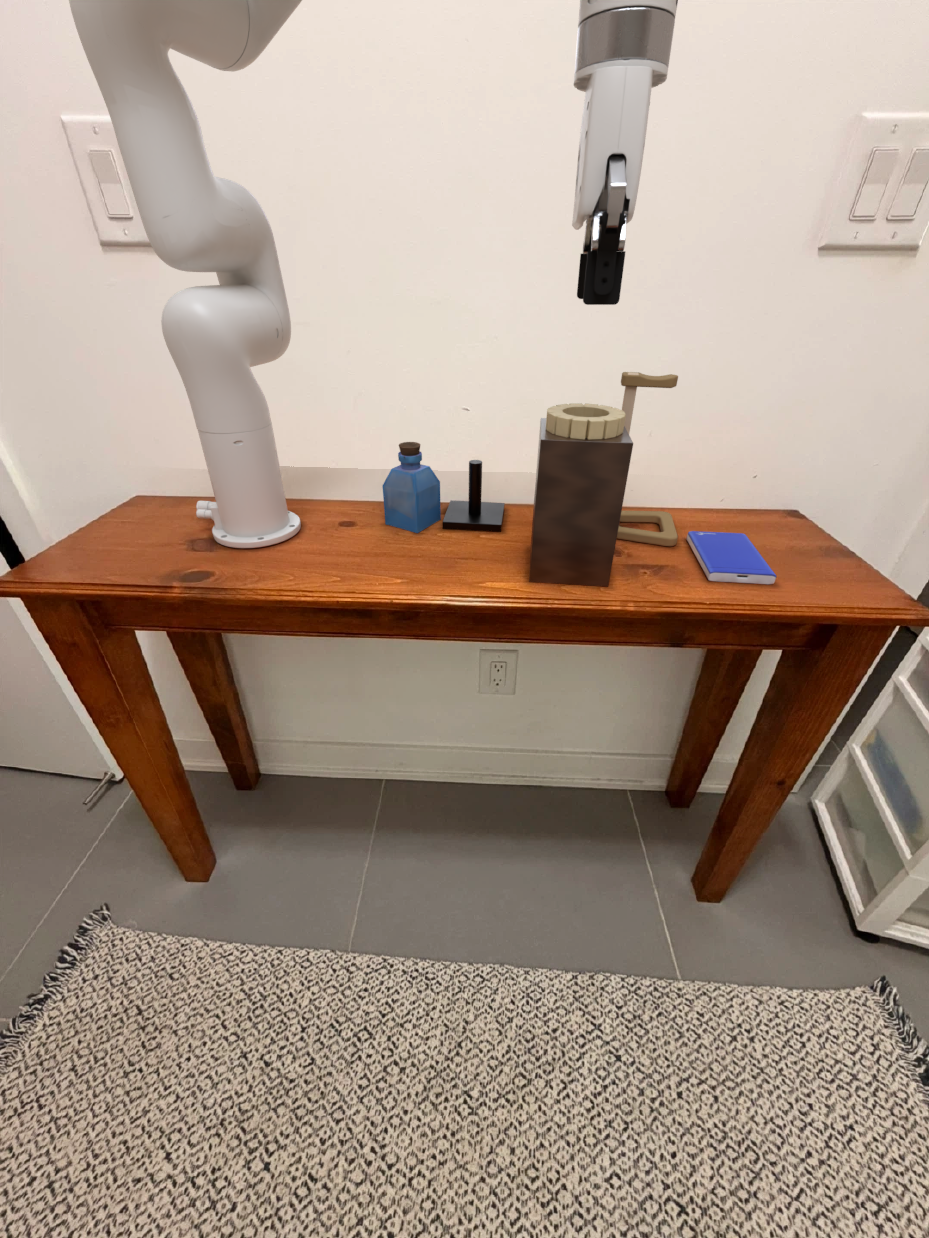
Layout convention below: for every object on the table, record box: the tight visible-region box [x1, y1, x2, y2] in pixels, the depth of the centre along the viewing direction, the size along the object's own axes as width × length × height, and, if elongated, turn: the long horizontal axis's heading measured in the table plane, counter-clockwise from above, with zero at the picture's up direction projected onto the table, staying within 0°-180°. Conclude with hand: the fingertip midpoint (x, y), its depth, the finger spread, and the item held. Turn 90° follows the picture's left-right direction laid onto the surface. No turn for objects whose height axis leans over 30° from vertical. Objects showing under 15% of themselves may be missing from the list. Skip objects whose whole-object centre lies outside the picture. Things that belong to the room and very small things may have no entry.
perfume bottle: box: [382, 441, 442, 534], centre depth 82 cm, size 6×6×12 cm
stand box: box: [528, 417, 634, 588], centre depth 68 cm, size 10×10×18 cm
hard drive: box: [686, 530, 777, 585], centre depth 74 cm, size 2×8×12 cm
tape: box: [545, 402, 626, 440], centre depth 63 cm, size 9×9×2 cm
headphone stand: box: [617, 371, 679, 547], centre depth 77 cm, size 10×11×22 cm
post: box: [442, 459, 506, 533], centre depth 84 cm, size 9×9×9 cm
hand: (595, 301), depth 54 cm, fingers open, 9 cm apart
